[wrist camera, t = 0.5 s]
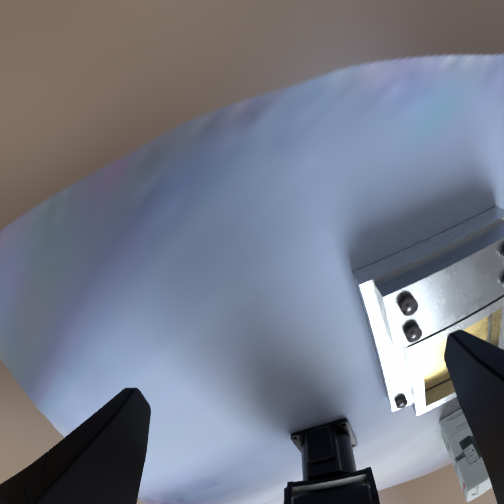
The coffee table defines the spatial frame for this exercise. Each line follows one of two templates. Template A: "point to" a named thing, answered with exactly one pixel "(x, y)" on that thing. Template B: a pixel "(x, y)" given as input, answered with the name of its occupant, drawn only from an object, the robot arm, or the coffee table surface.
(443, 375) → the gearbox
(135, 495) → the robot arm
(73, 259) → the coffee table surface
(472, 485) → the ink box
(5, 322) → the coffee table surface
